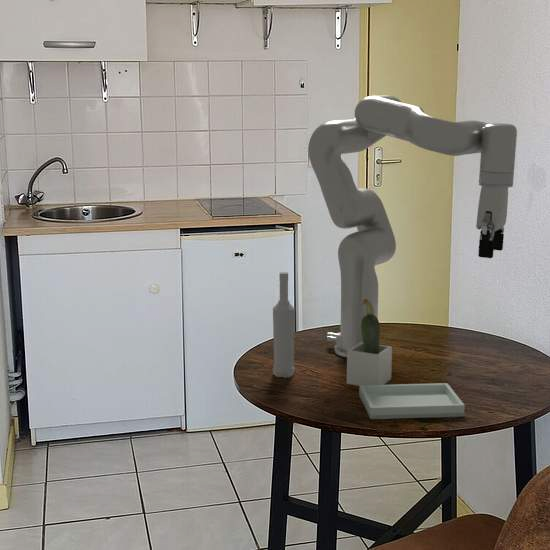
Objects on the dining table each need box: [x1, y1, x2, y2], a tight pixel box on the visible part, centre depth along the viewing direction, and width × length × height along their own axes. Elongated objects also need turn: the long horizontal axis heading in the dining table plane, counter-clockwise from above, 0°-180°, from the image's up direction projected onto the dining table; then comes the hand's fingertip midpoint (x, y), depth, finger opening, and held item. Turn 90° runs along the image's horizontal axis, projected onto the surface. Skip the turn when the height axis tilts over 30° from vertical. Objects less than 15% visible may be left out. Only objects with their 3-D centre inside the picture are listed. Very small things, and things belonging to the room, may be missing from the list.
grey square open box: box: [346, 342, 393, 387], centre depth 213 cm, size 8×8×8 cm
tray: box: [358, 382, 466, 420], centre depth 198 cm, size 20×14×2 cm
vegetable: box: [361, 299, 381, 354], centre depth 212 cm, size 4×4×20 cm
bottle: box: [272, 271, 296, 379], centre depth 216 cm, size 5×5×25 cm
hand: (490, 253), depth 209 cm, fingers open, 9 cm apart
